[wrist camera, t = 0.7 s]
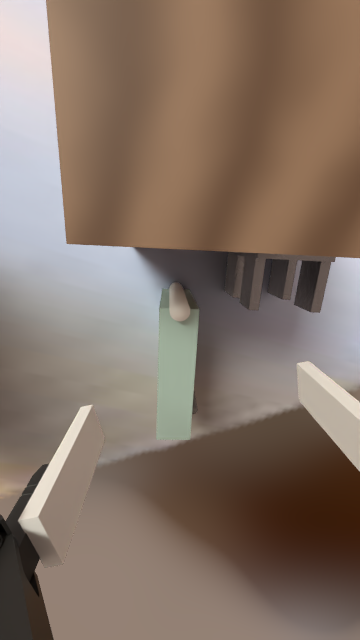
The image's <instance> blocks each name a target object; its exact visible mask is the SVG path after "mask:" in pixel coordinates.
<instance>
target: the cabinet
mask: <svg viewBox="0 0 360 640" xmlns="http://www.w3.org/2000/svg"><path fill="white" fill-rule="evenodd" d="M46 5H47V17H48V28H49V40H50V52H51V64H52V76H53V88H54V99H55V111H56V123H57V135H58V147H59V159H60V170H61V182H62V194H63V206H64V218H65V230H66V241H67V244H81V245H101V246H122V247H143V248H163V249H184V250H205V251H225V252H246V253H267V254H287V255H308V256H328V257H349V258H360V0H46Z"/></svg>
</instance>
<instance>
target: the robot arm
mask: <svg viewBox="0 0 360 640" xmlns="http://www.w3.org/2000/svg"><path fill="white" fill-rule="evenodd" d="M297 377H298V393H299V401H300V402H301V403H302V404H303V406H304V407H305V408H306V409H307V410H308V411H309V413H310V414H311V415H312V416H313V417H314V419H315V420H316V421H317V422H318V423H319V424H320V425H321V427H322V428H323V429H324V430H325V431H326V433H327V434H328V435H329V436H330V437H331V438H332V440H333V441H334V442H335V443H336V444H337V445H338V446H339V448H340V449H341V450H342V451H343V452H344V454H345V455H346V456H347V457H348V458H349V460H350V461H351V462H352V463H353V464H354V465H355V466H356V468H357V469H358V470H359V471H360V402H359V401H358V400H356V399H355V398H354V397H353V396H351V395H350V394H349V393H348V392H346V391H345V390H344V389H343V388H341V387H340V386H339V385H338V384H337V383H335V382H334V381H333V380H332V379H330V378H329V377H328V376H327V375H325V374H324V373H323V372H322V371H320V370H319V369H318V368H317V367H315V366H314V365H313V364H312V363H311V362H309V361H306V362H301V363H297ZM104 441H105V437H104V434H103V431H102V429H101V426H100V423H99V420H98V418H97V415H96V412H95V409H94V407H93V405H88V406H83V407H81V408H80V410H79V412H78V413H77V415H76V417H75V419H74V421H73V422H72V424H71V426H70V428H69V430H68V431H67V433H66V435H65V437H64V439H63V440H62V442H61V444H60V446H59V448H58V449H57V451H56V453H55V455H54V457H53V458H52V460H51V462H50V464H46V465H42V466H41V467H40V468H39V469H38V471H37V472H36V473H35V474H34V475H33V476H32V478H31V480H30V481H29V483H28V485H27V487H26V488H25V490H24V491H23V493H22V496H21V497H20V498H19V500H18V501H17V503H16V505H15V506H14V508H13V510H12V511H11V513H10V515H9V517H8V518H7V520H6V521H5V520H4V519H3V517H2V515H0V640H54V639H53V635H52V631H51V627H50V624H49V620H48V616H47V612H46V608H45V604H44V600H43V596H42V592H41V588H40V584H39V581H38V576H37V574H36V573H35V568H36V566H37V563H38V561H39V559H40V560H41V562H42V564H43V566H44V567H45V568H47V567H52V566H58V565H63V564H64V561H65V558H66V555H67V552H68V549H69V546H70V543H71V540H72V537H73V534H74V531H75V528H76V525H77V522H78V519H79V516H80V513H81V510H82V507H83V504H84V501H85V498H86V495H87V492H88V489H89V486H90V483H91V480H92V477H93V474H94V471H95V468H96V465H97V462H98V459H99V456H100V453H101V450H102V447H103V444H104Z"/></svg>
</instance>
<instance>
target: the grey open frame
mask: <svg viewBox="0 0 360 640" xmlns="http://www.w3.org/2000/svg"><path fill="white" fill-rule="evenodd" d="M335 258H336V257H328V256H308V255H287V254H267V253H246V252H228V259H227V269H226V279H225V289H224V291H225V292H226V293H228V294H229V295H230V296H231V297H233V298H240V302H239V303H240V304H242V305H243V306H244V307H246V308H247V309H248V310H259V303H260V296H261V289H262V282H263V275H264V268H265V261H266V259H273V260H272V266H271V273H270V280H269V286H268V293H269V294H272V295H274V296H276V297H278V298H280V299H283V300H290V297H291V292H292V286H293V280H294V275H295V269H296V264H297V260H302V265H301V270H300V276H299V281H298V286H297V292H296V297H295V302H294V305H296V306H298V307H300V308H303V309H305V310H307V311H309V312H319V313H320V310H321V306H322V301H323V297H324V292H325V288H326V283H327V278H328V274H329V269H330V265H331V262H335Z"/></svg>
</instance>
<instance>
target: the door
mask: <svg viewBox="0 0 360 640" xmlns="http://www.w3.org/2000/svg"><path fill="white" fill-rule="evenodd" d="M198 323H199V308H198V306H197V304H196V302H195V300H194V298H193V295H192V293H191V291H190V290H187V289H183V287H182V285H181V284H180V283H178V282H174V283H172V284H171V285H170V287H169V289H162V295H161V301H160V307H159V347H158V391H157V436H156V440H190V434H191V420H192V414H195V413H196V412H197V411H198V409H197V403H196V398H195V392H194V379H195V365H196V351H197V337H198Z"/></svg>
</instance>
